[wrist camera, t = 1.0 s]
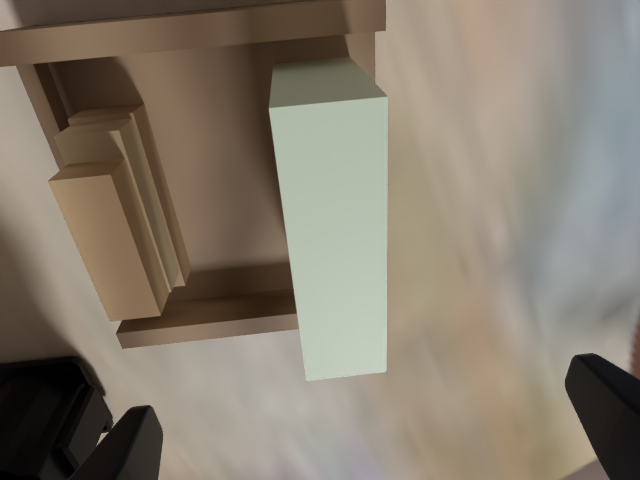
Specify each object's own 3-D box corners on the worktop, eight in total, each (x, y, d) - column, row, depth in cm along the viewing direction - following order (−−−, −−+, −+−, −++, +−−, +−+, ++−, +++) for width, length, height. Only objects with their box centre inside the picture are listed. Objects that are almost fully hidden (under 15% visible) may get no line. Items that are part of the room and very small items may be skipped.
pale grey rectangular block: (299, 272, 22) (306, 380, 16) (273, 63, 17) (268, 108, 11) (357, 265, 22) (386, 371, 16) (349, 56, 17) (388, 96, 11)
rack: (139, 308, 23) (122, 348, 21) (30, 26, 16) (-17, 33, 14) (373, 283, 24) (384, 319, 21) (369, -6, 17) (385, -4, 14)
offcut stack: (142, 272, 21) (111, 336, 17) (83, 109, 17) (25, 145, 13) (191, 267, 21) (171, 330, 17) (144, 103, 17) (103, 137, 13)
